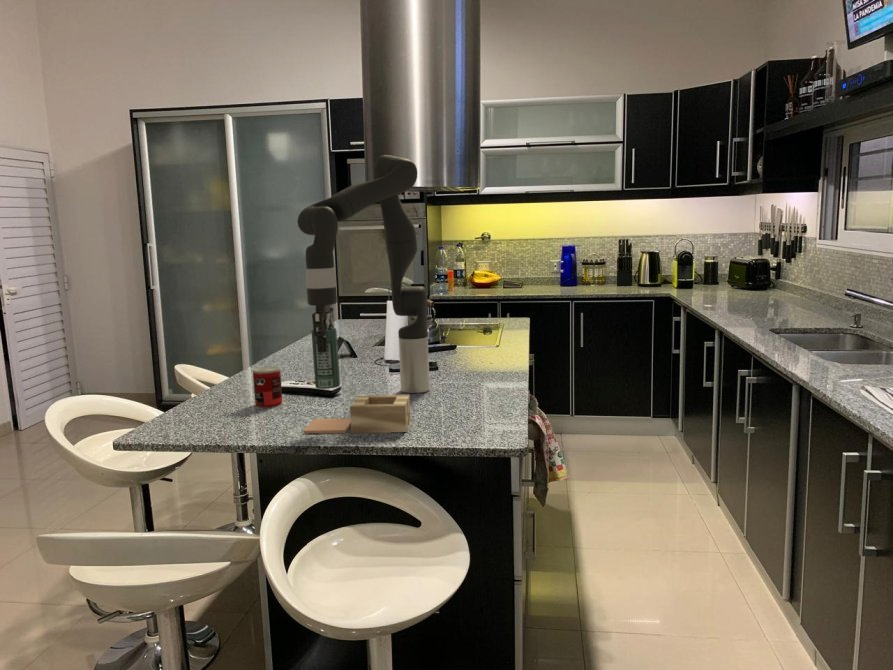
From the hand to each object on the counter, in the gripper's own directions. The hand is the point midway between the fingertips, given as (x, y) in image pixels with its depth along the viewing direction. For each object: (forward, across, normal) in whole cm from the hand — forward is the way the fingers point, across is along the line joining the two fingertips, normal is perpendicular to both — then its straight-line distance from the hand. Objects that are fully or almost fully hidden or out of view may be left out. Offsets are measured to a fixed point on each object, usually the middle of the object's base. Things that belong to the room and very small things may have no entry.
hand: (325, 350), depth 184 cm
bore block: (+21, 0, -14) cm, 25 cm away
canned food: (+21, +26, +24) cm, 41 cm away
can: (+10, 0, 0) cm, 10 cm away
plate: (+21, 0, 0) cm, 21 cm away
